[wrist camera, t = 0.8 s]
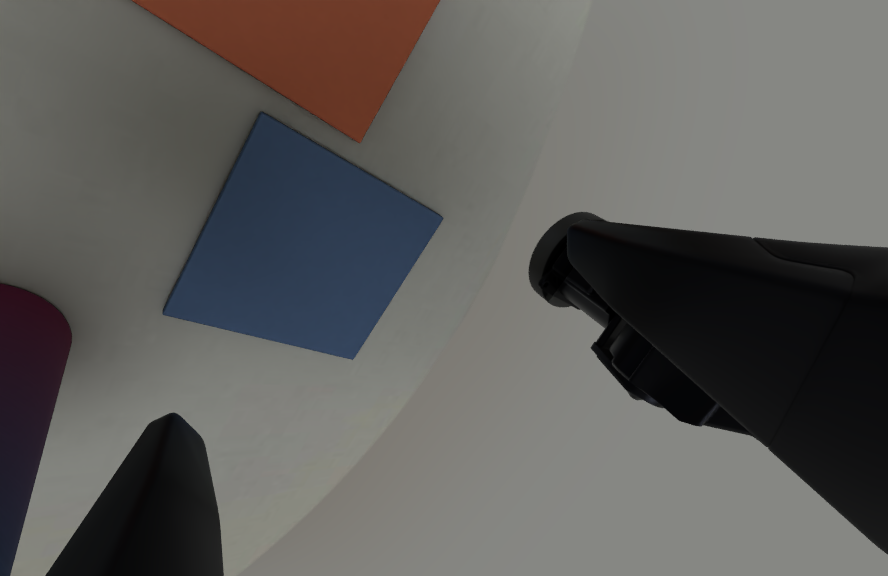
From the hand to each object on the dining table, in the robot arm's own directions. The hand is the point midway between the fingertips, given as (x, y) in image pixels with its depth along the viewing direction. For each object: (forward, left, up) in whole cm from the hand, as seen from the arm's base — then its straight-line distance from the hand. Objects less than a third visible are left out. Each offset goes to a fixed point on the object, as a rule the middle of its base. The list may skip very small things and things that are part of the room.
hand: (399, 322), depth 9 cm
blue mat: (-3, +4, -13) cm, 13 cm away
